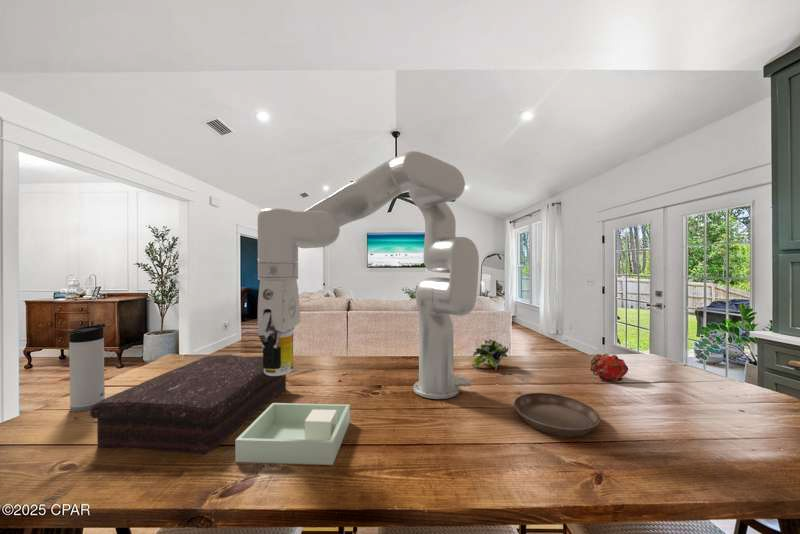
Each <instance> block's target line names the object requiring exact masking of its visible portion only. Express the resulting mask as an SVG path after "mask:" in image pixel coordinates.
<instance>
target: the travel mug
mask: <svg viewBox="0 0 800 534" xmlns="http://www.w3.org/2000/svg"><path fill="white" fill-rule="evenodd" d="M105 327H106V324H104V323H98V324H97V325H96V324H94V325H93V324H92V325H88V326H81V327H79V328H75V329H72V330H70V331H69V335H68V337H69V339H68V340H69V341H68V344H69V345H68V355H69V357H68V358H69V403H70V404H69V405H70V407H69V408H70V411H71V412H75V413H80V412H85V411H86V412H87V411H90V409H91V407H92V406H93V405H94V404H96V403H97V402H99V401H101V400H103V399H105V395H106V394H105V392H106V391H105V388H106V387H105V341H104V339H105V337H104V328H105Z"/></svg>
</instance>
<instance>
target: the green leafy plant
mask: <svg viewBox="0 0 800 534" xmlns="http://www.w3.org/2000/svg"><path fill="white" fill-rule="evenodd" d="M508 352H509V347H507V346H505V345H504V346H503V344H502V343H499V342H498V341H496V340H495V339H494V340H493V339H488V340H487V339H485V340H484V343H480V344H479V347H475V351H473V354H472V357H475V359H474V360H473V361H472V367H473V368H475V367H476V366H477V367H479V366H483V365H484V364H485V363H487V362H488V364H489V365H491V366H492V367H494V372H496V370H497V368H498V366H499V364H500V362H501V359H503V357H505V358H506V357H508V354H507V353H508ZM476 356H477V357H476Z"/></svg>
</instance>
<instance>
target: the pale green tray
mask: <svg viewBox="0 0 800 534" xmlns="http://www.w3.org/2000/svg"><path fill="white" fill-rule="evenodd" d="M313 409H314V410H337V426H336V428H335V430H334V432H333V434H332V436H331V439H330V440H305V420H306V418H307V417H308V415H309V414H310V413H311V411H312V410H313ZM350 410H351V405H350V404H347V403H346V404H340V403H338V404H335V403H299V402H297V403H294V402H293V403H287V402H272V403H271V404H270V405H269V406H268V407H267V408H266V409H265V410H264V411H263V412H262V413H261V414H260V415H259V416H257V418H256V419H255V420H254V421H253V422H251V424H250V425H249V426H248V427H247V428H246V429H244V430H243V432H242V433H241V434H240V435H239V436H238V437H237V438H236V439H235V442H234V443H235V448H234V449H235V453H234V454H235V455H234V456H235V463H253V464H254V463H255V464H257V463H258V464H287V465H288V464H289V465H290V464H293V465H294V464H295V465H326V466H327V465H329V466H333V465H334V463H335V460H336V458H337V456H338V453H339V449H340V448H341V446H342V442H343V440H344V438H345V435H346V433H347V430H348V427H349V425H350V423H351V415H350V414H351V411H350Z"/></svg>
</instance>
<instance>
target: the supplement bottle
mask: <svg viewBox="0 0 800 534" xmlns="http://www.w3.org/2000/svg"><path fill="white" fill-rule="evenodd" d="M269 331H276V329H275V328H269ZM293 334H294V330H293V331H292V330H288V331H286V332H280V339H279V346H278V347H281V367H280V368H279V369H264V373H265V374H266V375H269V376H280V375H285V374H286V375H288V374H290V373H292V371H293V370H294V336H293ZM270 336H272V337H273V339H274V338H275V335H270Z"/></svg>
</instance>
